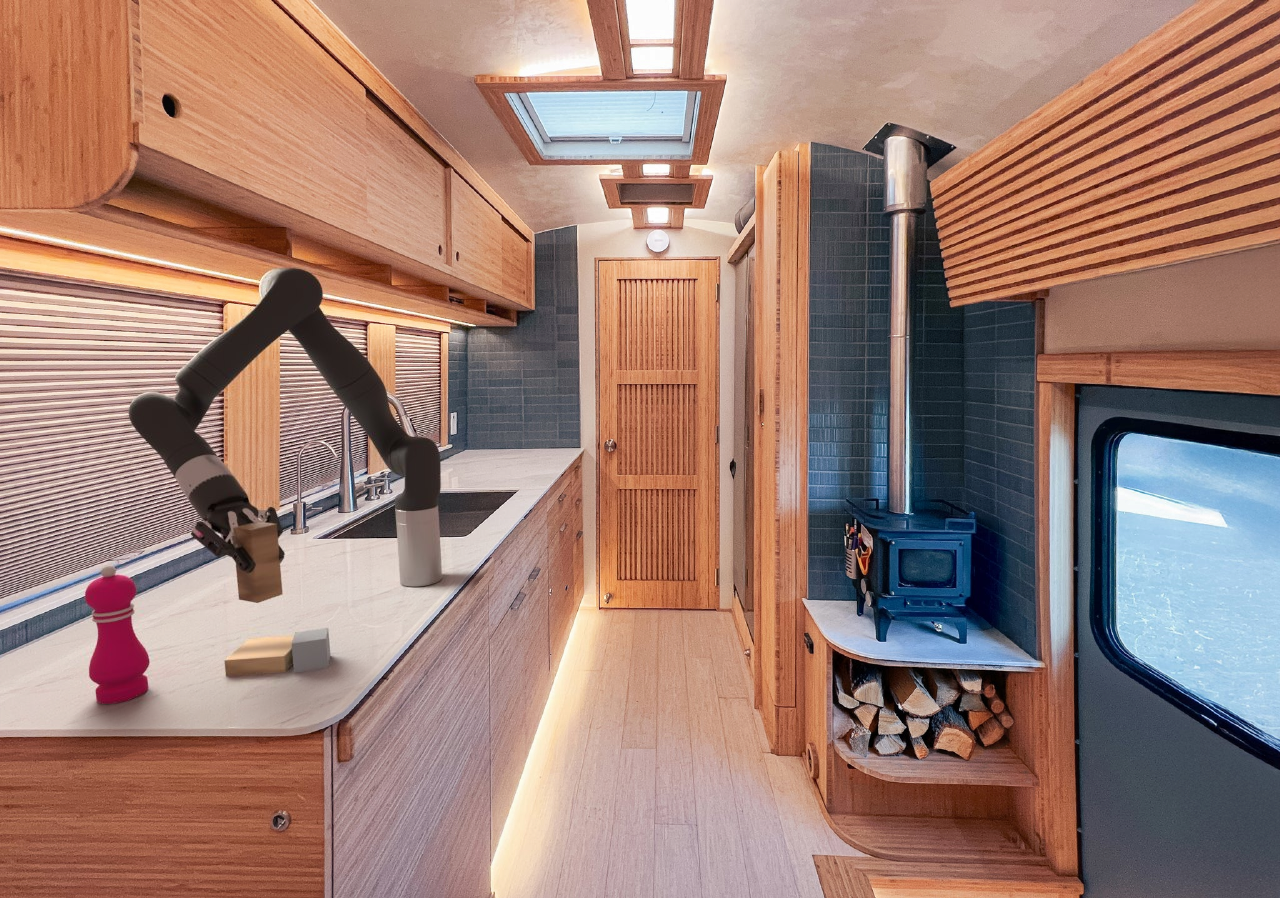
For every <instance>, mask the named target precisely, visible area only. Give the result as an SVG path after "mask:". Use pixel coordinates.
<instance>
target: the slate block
mask: <svg viewBox="0 0 1280 898" xmlns="http://www.w3.org/2000/svg"><path fill="white" fill-rule="evenodd" d="M329 632H330V631H329V627H323V628H318V629H317V628H316V629H309V630H303V631H297V632H295V633H294V638H293V641H292V655H293V664H292V665H293V673H294V674H295V673H296V674H297V673H302V672H308V671H315V670H320V669H328V668H329V665H330V660H331V646H330V645H331V644H330V643H331V642H330V635H329V634H330V633H329Z"/></svg>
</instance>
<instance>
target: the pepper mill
mask: <svg viewBox="0 0 1280 898" xmlns="http://www.w3.org/2000/svg"><path fill="white" fill-rule="evenodd" d="M116 573H117V569H116V567H114V565H105V566H103V567H102V568H101V570H100V575H101V577H98V578H96V579H95V580H93V581H91V582H90V584H89V583H88V586H87V587H86V590H85V593H84V600H85V603H86V604H87V605H88V607H90V608H92V611H91V615H92V618H91V620H92V622H93V623H96V628H97V639H96V645H95V648H94V650H93V653H92V656H91V658H90V662H89V664H88V665H89V666H88V678H89V679H90V680H91V681H92V682H93V683H94V684H97V685H98V686H97V687H96V688H95V698H96V701H97V703H99V704H102V703H103V704H105V705H106V704H107V705H111V704H118V702H119V703H123V702H126V700H127V701H130V700H133V699H135V698H137V697H139V696H142V695H143V694H145V693H146V692H147V691H148V689H149V681H148V676H147V675H145V672H147V670H148V668H149V666H150V658H149V654H148V652H147V650H146V648H145V647H144V645H143V644H142V642H141V641H140V640H139V639H138V637H137V635H136V633H135V630H134V627H133V620H132V616H133V615H134V614H135V609H134V607H135V605H134V604H133V602H132V601H133V600H134V598H135V597H136V594H137V586H136V584H135V582H134V580H133V579H132V578H131V577H129V576H126V575H123V574H116Z"/></svg>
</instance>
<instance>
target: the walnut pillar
mask: <svg viewBox="0 0 1280 898" xmlns="http://www.w3.org/2000/svg"><path fill="white" fill-rule="evenodd" d="M234 530H235V531H236V533H237V538H238V539H239V540H240V542H241V545H242V546H241V548H245V550H246V551H247V552H248V554H249V555H250V557H251V558H252V560H253V561H254V562H255V564H256V566H255V568H254V569H253V571H252V572H250V573H246V572H245V571H242V570H241V569H240V568H239V567H238V565H237V564H236V563H235V568H236V570H235V571H236V581H237V594H238V600H240V601H245V602H249V603H255V604H259V603H262V602H265V601H267V600H271V599H273V598H277V597H279V596H283V585H282V584H283V583H282V571H281V569H282V568H281V563H280V560H279V546H280V544H279V538H278V532H277V524H274V523H265V522H256V523H251V524H246V525H242V526H238V527H234ZM278 544H279V545H278Z"/></svg>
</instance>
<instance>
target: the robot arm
mask: <svg viewBox="0 0 1280 898" xmlns="http://www.w3.org/2000/svg"><path fill="white" fill-rule="evenodd" d="M258 286H259V287H258V290H259V296H260V298H261V299H260V301H259V302H258V304H257V305H256V306H255V307H254V308H253V309H252V310H251V311H250V312H249V313H248V314H247V315H246V316H244V317H243V318H242V319H240V321H239V322H237V323H236V324H234V325H233V326H231V327H230V328H228V329H227V330H226V331H224V332H222V333H221V334H220V335H218V336H216V337H215V338H213V340H211V341H210V342H209V343H208V344H206V345H205V346H204V347H202V348H201V349H200V350H199V351H198V352H197V353H196V354H195V355H194V356H193V357H192V358H191V359H189V361H187V363H185V365H183V366H182V367H181V368H180V369H179V370H178V372H177V373H176V375H175V378H174V379H175V382H176V384H177V386H178V390H177V393H176V394H175V395H174V397H173V398H171V396H168V395H166V394H164V393H161V392H156V391H147V392H144V393H143V392H142V393H140V394H139V395H137V396H135V398H133V400H132V401H131V403H130V404H129V406H128V418H129V421H130V423H131V425H132V426H133V428H134V429H135V430H136V432H137V433H138V434H139V435H140V436H141V437H142V439H144V440H145V441H146V443H147V444H148V445H149V446H150V447H151V448H152V449H153V450H154V451H155V452H156V453H157V454H158V455H159V457H161V459H162V460H163V462H164V464H165V465H166V467H167V469H169V471H170V473H171V475H172V476H173V477H174V479H176V481H177V484H178V486H179V489H180V490H181V492H182V493H183V494H184V496H185V497H186V498H187V500H188V501H189V503H190V505H191V506H192V507H193V509H194V510H195V511H196V513H197V514H198V516H199V518H200V519H201V520H202V521H198V522H196V524H195V525H194V528H193V529H192V530H191V532H190V535H191V537H193V538H194V539H195V540H196V541H197V542H199V544H201V546H203V547H204V548H205V549H207V550H208V551H209V552H211V553H212V554H213V555H214V556H215V557H217V558H220V557H222V556H228V557H230V558H232V559H233V561H234V562H235V565H236V564H237V565H238V567H239V568H240V569H241V570H242V571H245V572H246V573H250V572H252V571H253V569H254V568H255V566H256V564H255V562H254V561H253V560H252V558H251V557H250V555H249V554H248V552H247V551H246V550H245V548H241V546H242V545H241V542H240V540H239V539H238V538H237V533H236V531H235V530H234V527H238V526H242V525H246V524H251V523H256V522H265V523H274V524H277V532H278V539H279V538H280V537H281V535H282V534H283V533H284V530H283V528H282V524H281V521H280V518H279V516H278V514H277V513H278V512H277V511H276V508H275V507H273V506H269V507H268V508H267V509H258V508H257V507H256V506H254V505H253V504H251V503H250V499H249V495H248V493H247V492H246V491H245V489H244V488H243V487H242V485H241V484H240V482H239V481H238V479H237V478H236V476H235V475H234V474H233V473H232V472H231V470H230V469H229V467H228V466H227V465H226V464H225V462H223V461H222V460H221V459H220V458H219V456H218V455H217V454H216V452H215V451H214V449H213V447H212V446H211V445H210V444H209V442H208V441H206V439H204V437H202V436H201V435H200V434H199V433H198V432H196V430H197V428H198V427H199V426H200V424H201V422H202V420H203V419H204V418H205V416H206V414H207V412H208V411H209V409H210V408H211V406H212V403H213V401H214V400H215V399H216V397H217V396H218V395H220V394H221V392H222V391H224V390H225V388H227V387H228V386H229V385H230V384H231V383H232V382H233V381H234V380H235V379H236V378H237V377H238V376H239V375H240V374H241V373H242V372H243V371H244V370H245V369H246V368H247V367H248V366H249V365H250V364H251V363H252V362H253V361H254V360H255V359H256V358H258V356H259V355H261V353H262V352H264V350H266V349H267V348H268V347H269V346H270V345H272V344H274V342H275V341H276V340H277V339H279V338H280V337H281V336H282V335H284V334H285V333H286V332H289V333H290V334H291V335H292V336H293V337H294V338H295V339H296V341H297V342H298V343H299V344H300V345H301V347H302V349H303V350H304V352H305V354H307V356H308V358H309V359H310V360H311V362H312V363H313V365H314V367H315V368H316V369H317V371H318V372H319V373H320V375H321V376H322V377H323V379H324V381H325V382H326V383H327V385H328V386H329V388H330V389H331V390H332V391H333V393H334V394H335V395H336V397H337V398H338V399H339V401H341V403H342V404H343V405H344V407H345V408H346V409H347V411H348V412H349V413H350V414H351V415H352V417H353V418H354V420H356V422H357V423H358V424H359V426H360V427H361V429H362V430H363V431H364V432H365V433H366V435H367V436H368V438H369V439H370V441H371V442H372V444H373V446H374V448H375V449H376V450H377V452H378V454H379V456H380V458H381V459H382V461H383V462H384V464H385V465H386V468H388V470H390V471H391V472H392V473H393V474H395V475H397V476H400V477H404V489H403V491H402V492H400V493H399V494H397V495H396V496H395V498H394V510H395V523H396V536H397V537H396V538H397V540H396V541H397V552H398V567H399V582H400V585H402V586H405V587H422V586H423V587H425V586H430V585H433V584H436V583H438V582H440V581H442V580H441V579H443V570H442V569H443V567H442V549H441V532H440V517H439V515H440V514H439V497H440V493H441V488H442V484H441V483H442V482H441V476H442V475H441V472H442V471H441V469H442V468H441V466H442V465H441V455H440V450H439V447H438V446H437V444H436V443H435V441H433V440H432V439H430V438H429V437H423V436H412V435H411V436H410V435H409V434H408V433H407V432H406V431H405V430H404V428H402V426H401V425H400V423H399V422H398V421H397V420H396V418H395V416H394V414H393V413H392V411H391V407H390V404H389V397H388V393H387V392H388V391H387V388H386V386H385V384H384V382H383V380H382V378H381V377H380V375H379V374H378V372H377V371H376V369H375V368H374V367H373V365H372V364H371V362H370V361H369V360H368V359H367V357H366V356H365V355H364V354H363V353H362V352H361V351H360V350H359V349H358V348H357V346H355V345H354V344H353V343H352V342H351V341H350V340H348V339H347V338H346V337H345V336H344V335H343V334H342V333H341V332H339V331H338V329H336V328H335V327H334V326H333V324H332V323H331V322H330V321H329V319H328V317H326V315H325V313H324V311H323V310H322V308H321V307H320V305H321V304H322V301H323V296H324V292H323V287H322V284H321V283H320V281H319V279H318V278H317V276H315V275H314V274H312V273H311V272H309V271H307V270H305V269H302V268H297V267H278V268H273V269H270V270H269V271H266V273H264V274H263V276H262V277H261V279H260V281H259V285H258ZM203 521H204V522H203ZM219 534H220V535H219ZM278 545H279V560H280V564H281V563H282V562H283V560H284V559H285V555H286V554H285V551H284V550H283V548H282V547H281V545H280V544H279V543H278Z"/></svg>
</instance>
